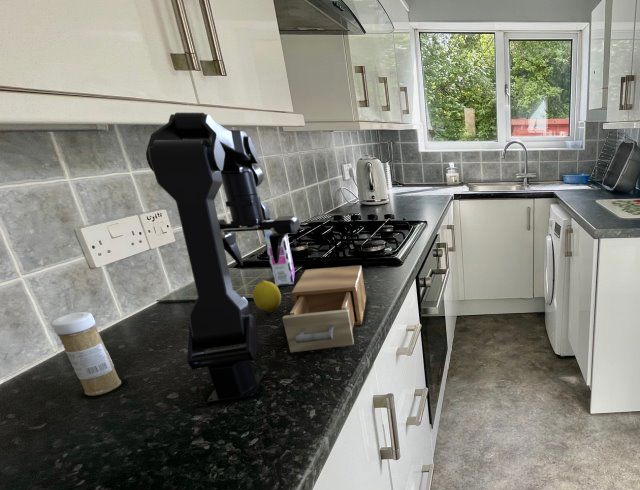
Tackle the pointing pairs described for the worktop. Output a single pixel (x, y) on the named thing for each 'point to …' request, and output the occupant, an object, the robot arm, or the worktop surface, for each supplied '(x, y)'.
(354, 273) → the cabinet
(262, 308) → the lemon
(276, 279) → the candy bar box
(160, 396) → the worktop surface
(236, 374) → the robot arm
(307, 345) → the drawer
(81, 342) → the sprinkles bottle
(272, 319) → the worktop surface
